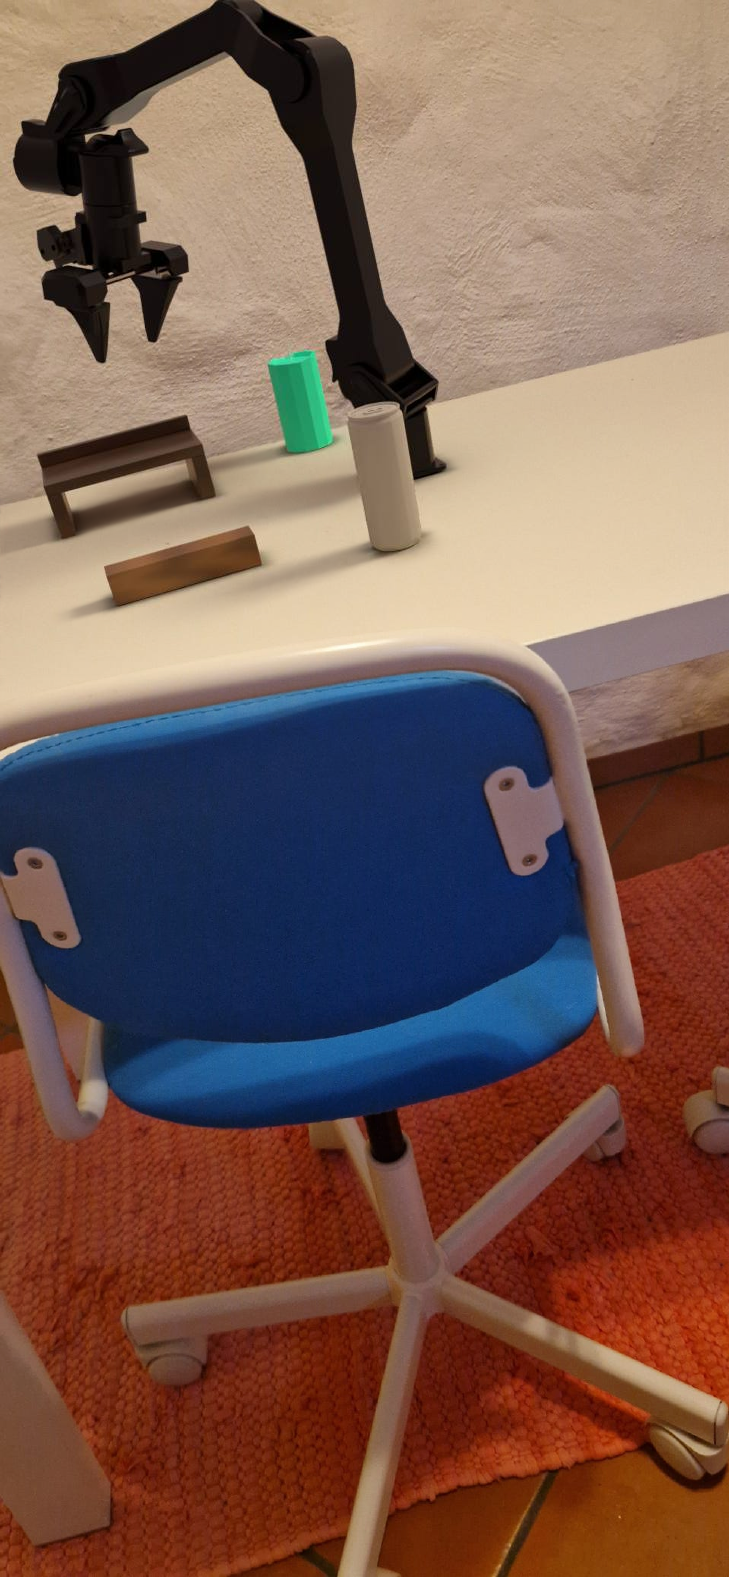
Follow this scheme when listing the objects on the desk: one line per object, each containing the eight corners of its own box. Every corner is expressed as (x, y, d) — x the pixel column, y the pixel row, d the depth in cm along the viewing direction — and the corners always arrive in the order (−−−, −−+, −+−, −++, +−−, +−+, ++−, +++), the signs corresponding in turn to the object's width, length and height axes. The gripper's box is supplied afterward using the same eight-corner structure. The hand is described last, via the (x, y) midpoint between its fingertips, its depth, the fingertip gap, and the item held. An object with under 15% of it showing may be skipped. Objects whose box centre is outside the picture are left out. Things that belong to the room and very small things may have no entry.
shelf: (216, 496, 121) (198, 430, 117) (61, 538, 119) (38, 472, 115) (203, 476, 130) (186, 414, 126) (58, 515, 127) (36, 453, 123)
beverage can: (368, 540, 99) (343, 409, 93) (419, 529, 99) (397, 397, 93) (373, 557, 95) (347, 422, 89) (426, 546, 95) (404, 409, 89)
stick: (256, 555, 102) (248, 525, 100) (262, 564, 99) (254, 533, 98) (113, 596, 100) (103, 566, 98) (116, 606, 97) (106, 576, 96)
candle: (335, 434, 134) (315, 334, 128) (330, 447, 129) (309, 344, 123) (290, 442, 135) (267, 343, 129) (282, 455, 131) (259, 354, 124)
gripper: (108, 180, 123) (125, 322, 133) (-10, 207, 110) (18, 361, 120) (185, 191, 119) (197, 336, 129) (72, 220, 106) (94, 379, 116)
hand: (127, 352), depth 124 cm, fingers open, 9 cm apart
